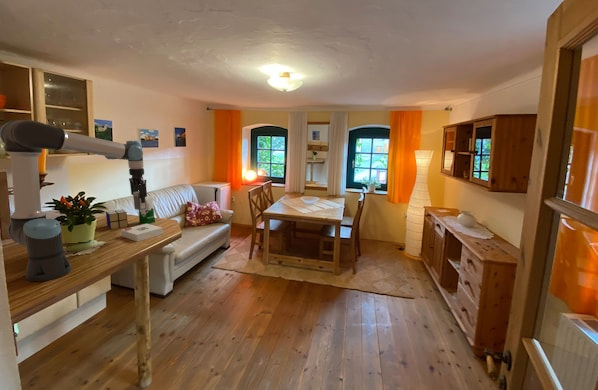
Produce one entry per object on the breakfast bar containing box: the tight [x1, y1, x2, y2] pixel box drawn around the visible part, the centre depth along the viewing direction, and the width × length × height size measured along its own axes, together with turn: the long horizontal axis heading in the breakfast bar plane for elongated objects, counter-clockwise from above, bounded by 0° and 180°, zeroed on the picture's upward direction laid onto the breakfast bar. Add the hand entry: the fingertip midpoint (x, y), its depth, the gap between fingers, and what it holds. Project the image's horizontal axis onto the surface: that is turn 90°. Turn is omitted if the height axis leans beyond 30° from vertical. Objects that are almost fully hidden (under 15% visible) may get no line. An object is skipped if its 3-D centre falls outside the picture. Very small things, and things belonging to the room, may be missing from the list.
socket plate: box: [120, 223, 164, 243], centre depth 180 cm, size 16×16×5 cm
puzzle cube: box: [105, 208, 129, 230], centre depth 196 cm, size 10×10×10 cm
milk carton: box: [138, 195, 156, 225], centre depth 205 cm, size 9×9×20 cm
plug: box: [132, 190, 146, 211], centre depth 176 cm, size 4×4×10 cm
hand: (140, 207), depth 177 cm, fingers closed on plug, 4 cm apart
